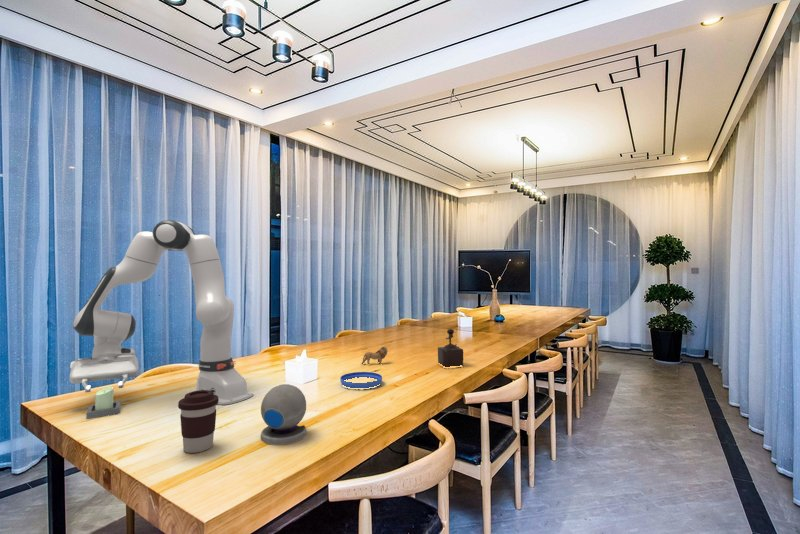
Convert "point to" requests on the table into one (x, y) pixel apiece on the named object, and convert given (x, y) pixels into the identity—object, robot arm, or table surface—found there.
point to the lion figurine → (375, 355)
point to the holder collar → (103, 411)
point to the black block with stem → (450, 353)
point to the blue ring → (361, 374)
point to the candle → (104, 399)
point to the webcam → (283, 415)
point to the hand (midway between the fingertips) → (104, 389)
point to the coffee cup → (198, 420)
